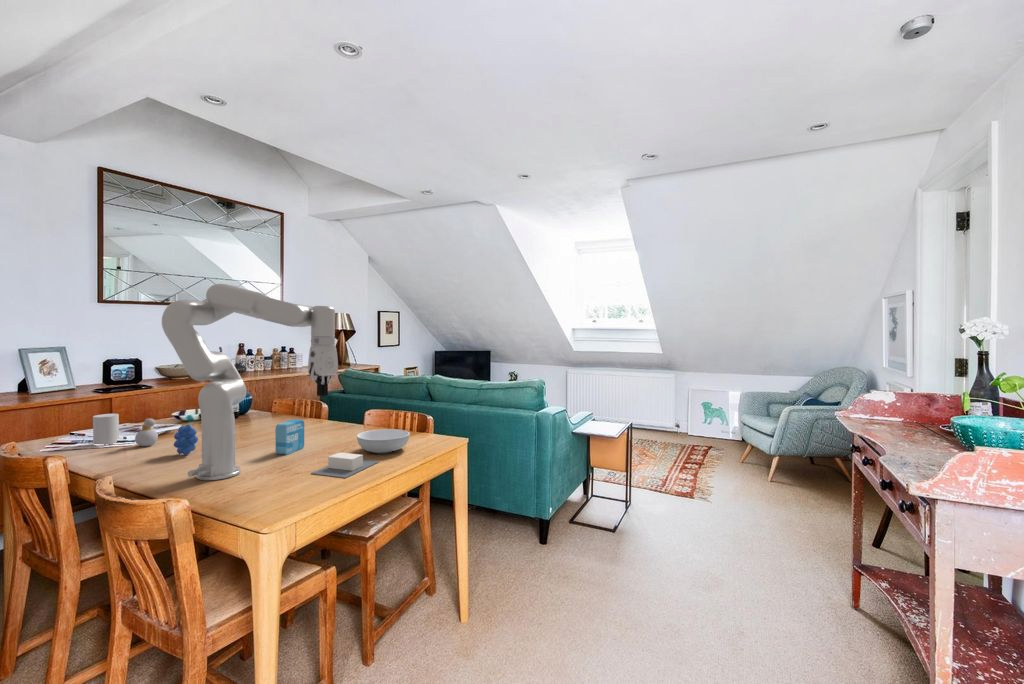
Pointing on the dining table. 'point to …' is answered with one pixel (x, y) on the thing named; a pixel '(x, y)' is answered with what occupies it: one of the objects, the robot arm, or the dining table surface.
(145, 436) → the perfume bottle
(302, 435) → the data package
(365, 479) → the dining table surface
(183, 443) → the grapes
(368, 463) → the mat
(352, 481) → the dining table surface
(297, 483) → the dining table surface
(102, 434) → the cup
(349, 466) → the white rectangular block
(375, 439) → the serving bowl
